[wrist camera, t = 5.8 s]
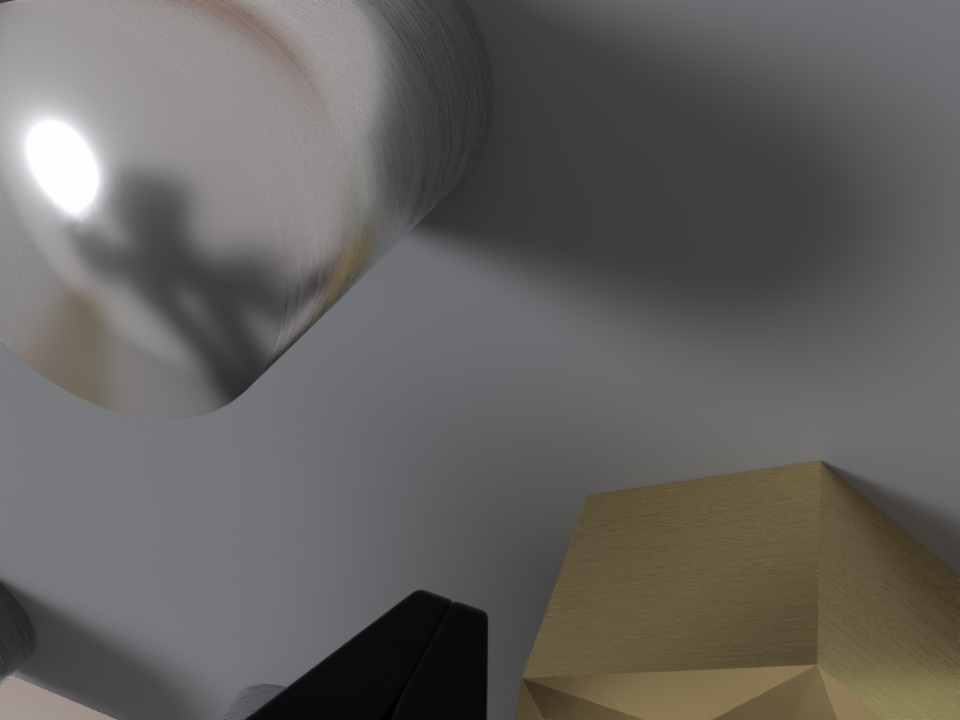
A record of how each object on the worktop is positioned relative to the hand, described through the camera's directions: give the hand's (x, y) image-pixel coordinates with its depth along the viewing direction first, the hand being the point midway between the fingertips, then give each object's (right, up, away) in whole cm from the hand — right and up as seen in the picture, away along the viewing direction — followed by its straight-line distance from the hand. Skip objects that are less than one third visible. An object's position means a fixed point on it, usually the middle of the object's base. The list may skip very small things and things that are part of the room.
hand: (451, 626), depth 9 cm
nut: (+3, 0, 0) cm, 3 cm away
